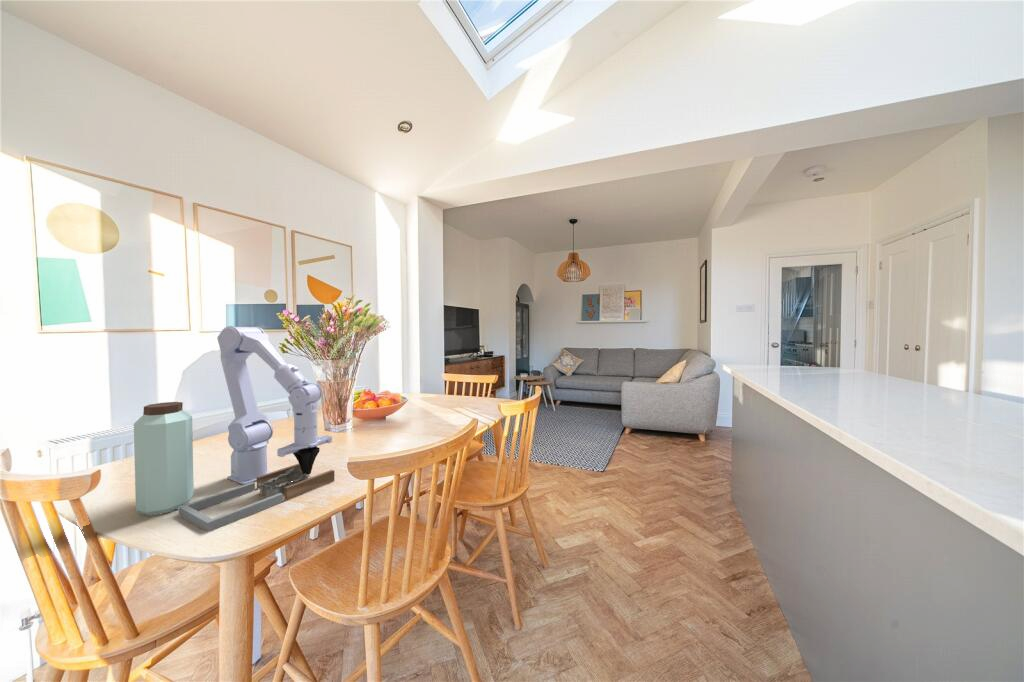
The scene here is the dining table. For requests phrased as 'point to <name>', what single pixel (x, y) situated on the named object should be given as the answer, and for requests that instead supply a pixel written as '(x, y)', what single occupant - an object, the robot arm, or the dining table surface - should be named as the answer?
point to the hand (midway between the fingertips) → (306, 474)
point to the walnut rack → (299, 486)
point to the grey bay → (209, 524)
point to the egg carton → (282, 482)
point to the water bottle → (163, 458)
